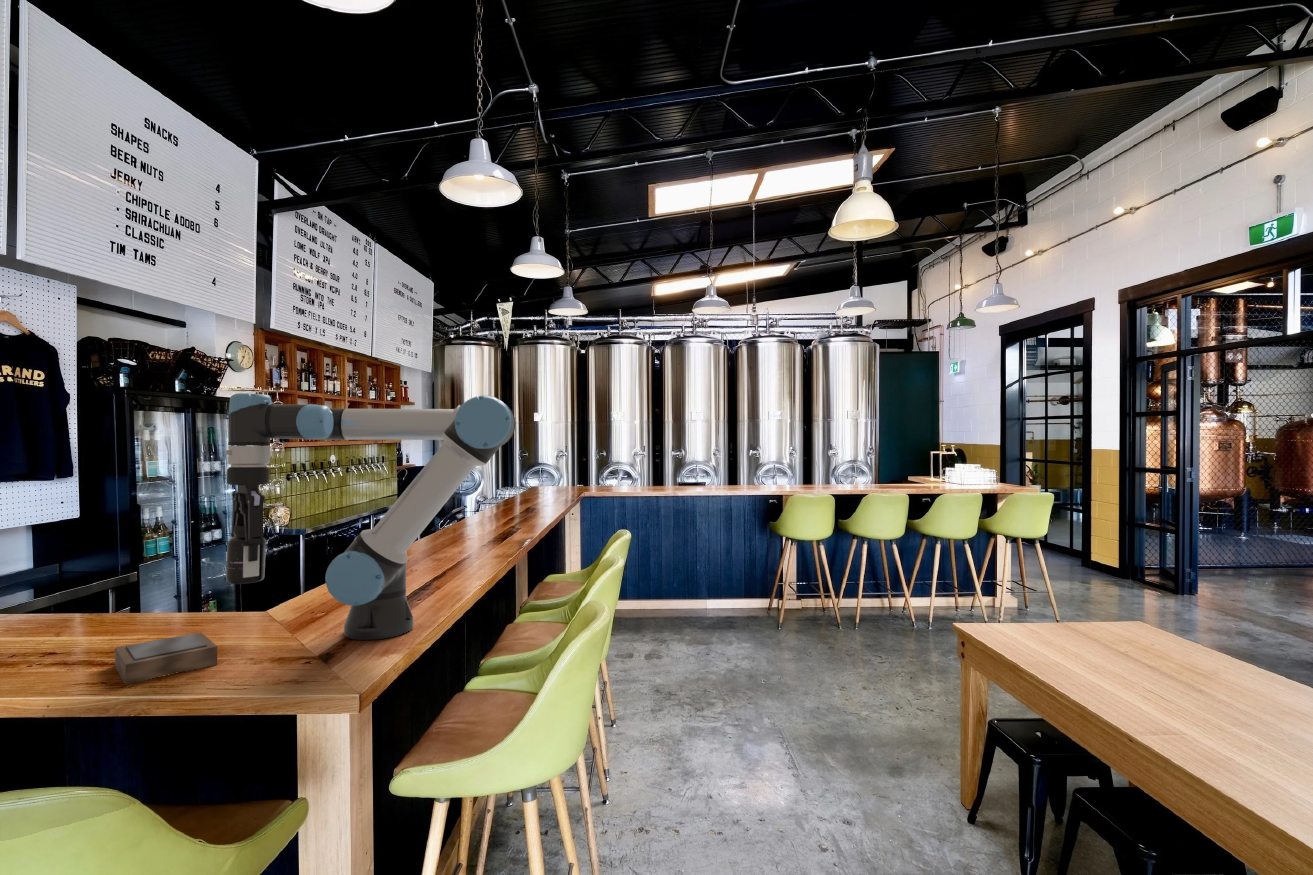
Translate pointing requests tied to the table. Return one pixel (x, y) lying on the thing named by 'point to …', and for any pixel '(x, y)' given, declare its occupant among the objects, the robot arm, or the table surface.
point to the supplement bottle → (241, 558)
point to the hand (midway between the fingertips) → (245, 573)
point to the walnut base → (164, 657)
